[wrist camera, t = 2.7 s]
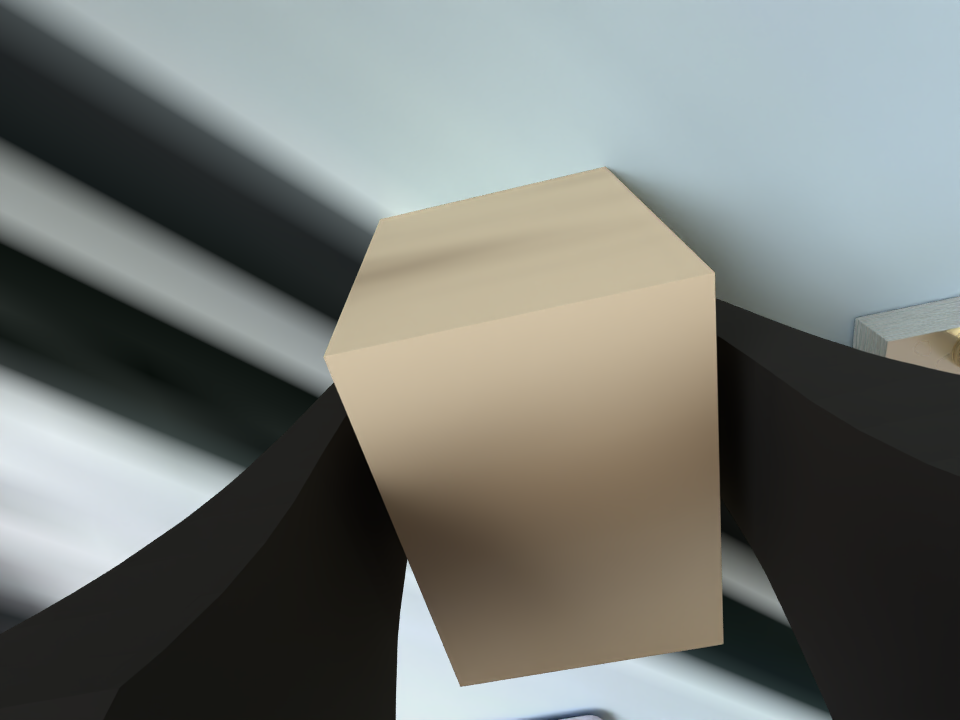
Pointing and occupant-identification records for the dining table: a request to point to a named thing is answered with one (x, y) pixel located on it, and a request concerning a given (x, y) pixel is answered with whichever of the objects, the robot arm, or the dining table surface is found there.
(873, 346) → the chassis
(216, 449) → the dining table surface
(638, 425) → the birch block
